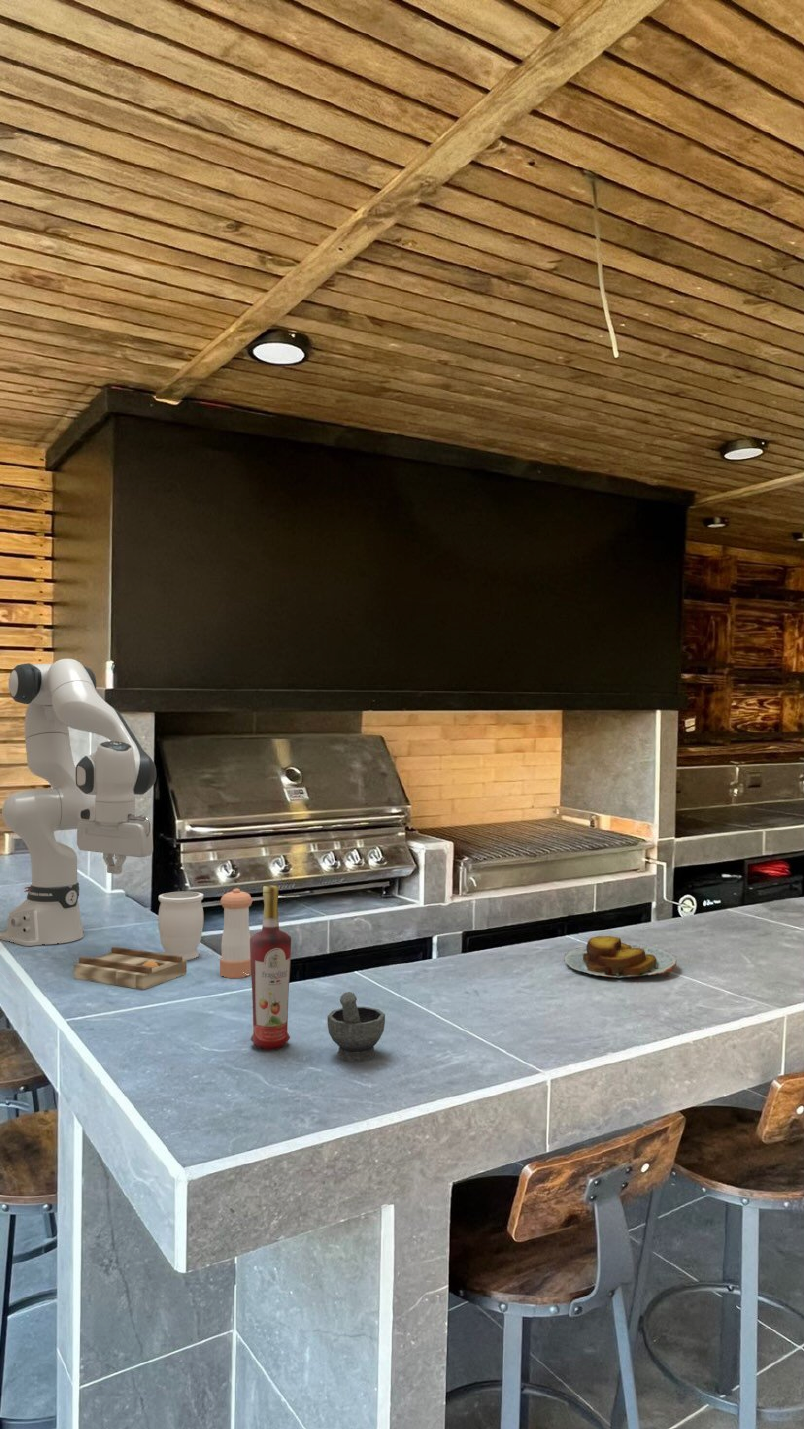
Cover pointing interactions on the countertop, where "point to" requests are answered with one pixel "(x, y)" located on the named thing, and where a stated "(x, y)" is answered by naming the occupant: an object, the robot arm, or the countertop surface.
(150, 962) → the ball
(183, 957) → the jar
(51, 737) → the robot arm
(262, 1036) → the liquor
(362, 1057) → the mortar and pestle
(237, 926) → the pepper shaker
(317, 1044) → the countertop surface
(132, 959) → the lane board
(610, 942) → the food on plate
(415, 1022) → the countertop surface
